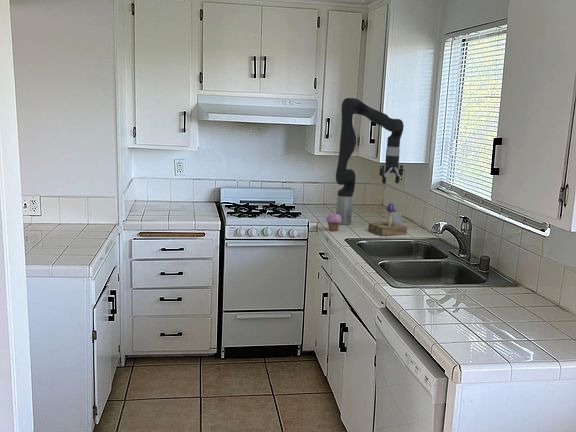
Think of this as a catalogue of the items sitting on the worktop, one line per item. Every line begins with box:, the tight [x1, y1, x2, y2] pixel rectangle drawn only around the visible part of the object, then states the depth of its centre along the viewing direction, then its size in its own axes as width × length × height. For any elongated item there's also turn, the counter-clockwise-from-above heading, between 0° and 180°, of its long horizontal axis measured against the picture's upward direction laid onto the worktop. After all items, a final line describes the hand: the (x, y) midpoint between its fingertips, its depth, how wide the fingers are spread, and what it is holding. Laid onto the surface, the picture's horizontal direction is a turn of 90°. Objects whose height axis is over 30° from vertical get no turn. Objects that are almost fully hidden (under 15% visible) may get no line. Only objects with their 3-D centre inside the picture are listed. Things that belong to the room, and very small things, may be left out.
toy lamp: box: [386, 203, 396, 226], centre depth 335 cm, size 5×5×17 cm
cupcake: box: [325, 212, 342, 232], centre depth 336 cm, size 9×9×10 cm
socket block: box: [368, 221, 408, 237], centre depth 336 cm, size 15×16×5 cm
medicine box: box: [387, 211, 403, 225], centre depth 353 cm, size 8×4×9 cm, turn 74°
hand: (390, 183), depth 332 cm, fingers open, 8 cm apart
